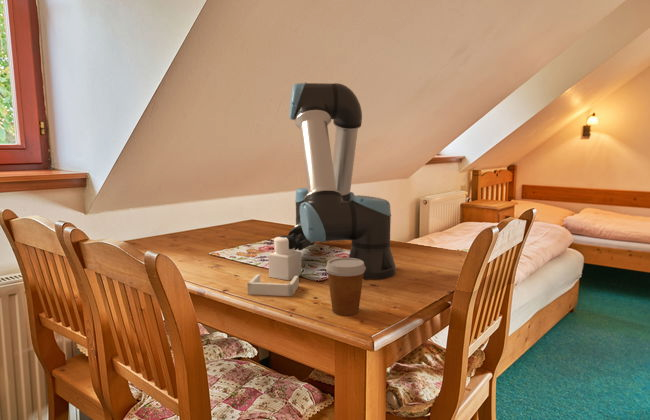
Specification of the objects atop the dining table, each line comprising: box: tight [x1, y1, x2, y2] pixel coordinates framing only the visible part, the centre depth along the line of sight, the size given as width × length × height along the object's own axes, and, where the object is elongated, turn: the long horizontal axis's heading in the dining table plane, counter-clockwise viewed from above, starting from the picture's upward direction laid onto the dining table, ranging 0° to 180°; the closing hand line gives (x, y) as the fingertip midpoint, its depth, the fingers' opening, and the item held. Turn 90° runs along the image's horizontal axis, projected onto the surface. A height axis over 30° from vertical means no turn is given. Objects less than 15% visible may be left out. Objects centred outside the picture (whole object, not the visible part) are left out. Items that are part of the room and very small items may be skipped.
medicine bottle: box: [267, 235, 302, 281], centre depth 144 cm, size 7×7×12 cm
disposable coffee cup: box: [325, 257, 366, 316], centre depth 115 cm, size 10×10×12 cm
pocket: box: [246, 273, 300, 297], centre depth 132 cm, size 12×8×3 cm
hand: (284, 251), depth 149 cm, fingers closed
